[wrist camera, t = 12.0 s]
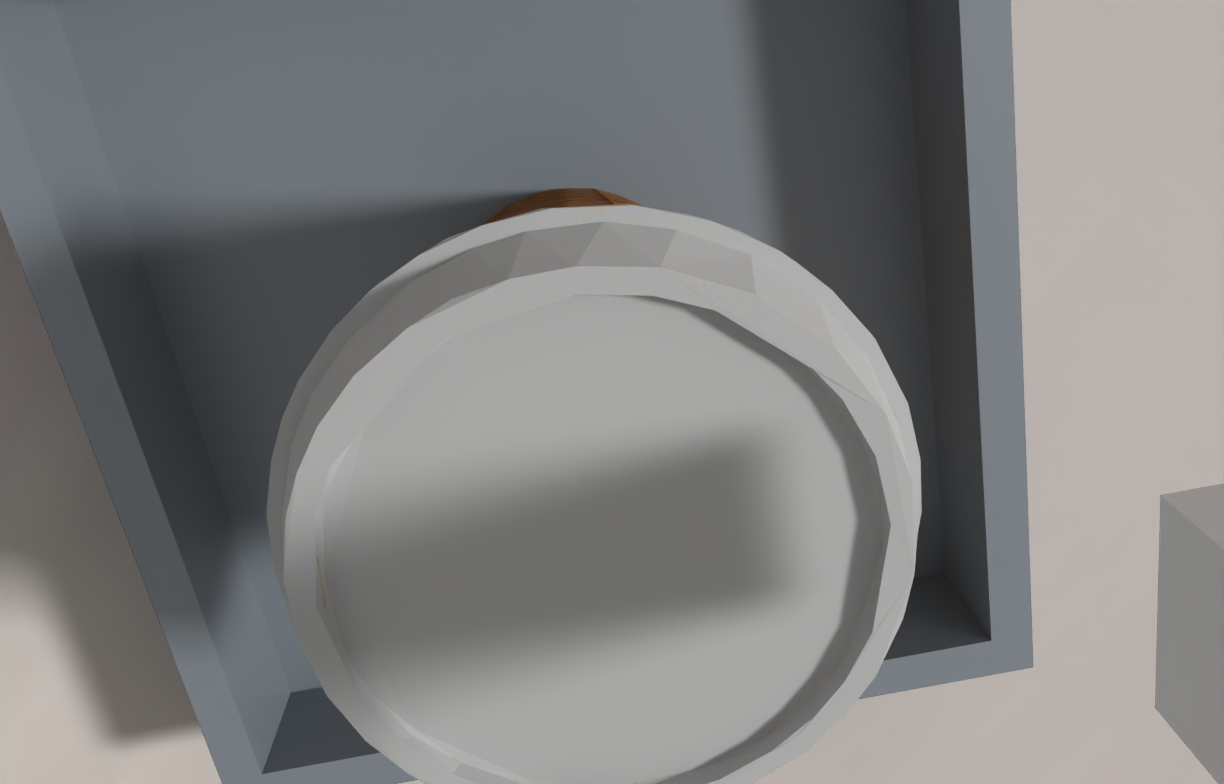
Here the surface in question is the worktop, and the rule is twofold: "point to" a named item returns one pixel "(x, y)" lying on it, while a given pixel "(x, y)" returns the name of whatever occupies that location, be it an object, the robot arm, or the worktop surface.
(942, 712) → the worktop surface
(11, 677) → the worktop surface
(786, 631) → the disposable coffee cup
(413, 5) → the bin
